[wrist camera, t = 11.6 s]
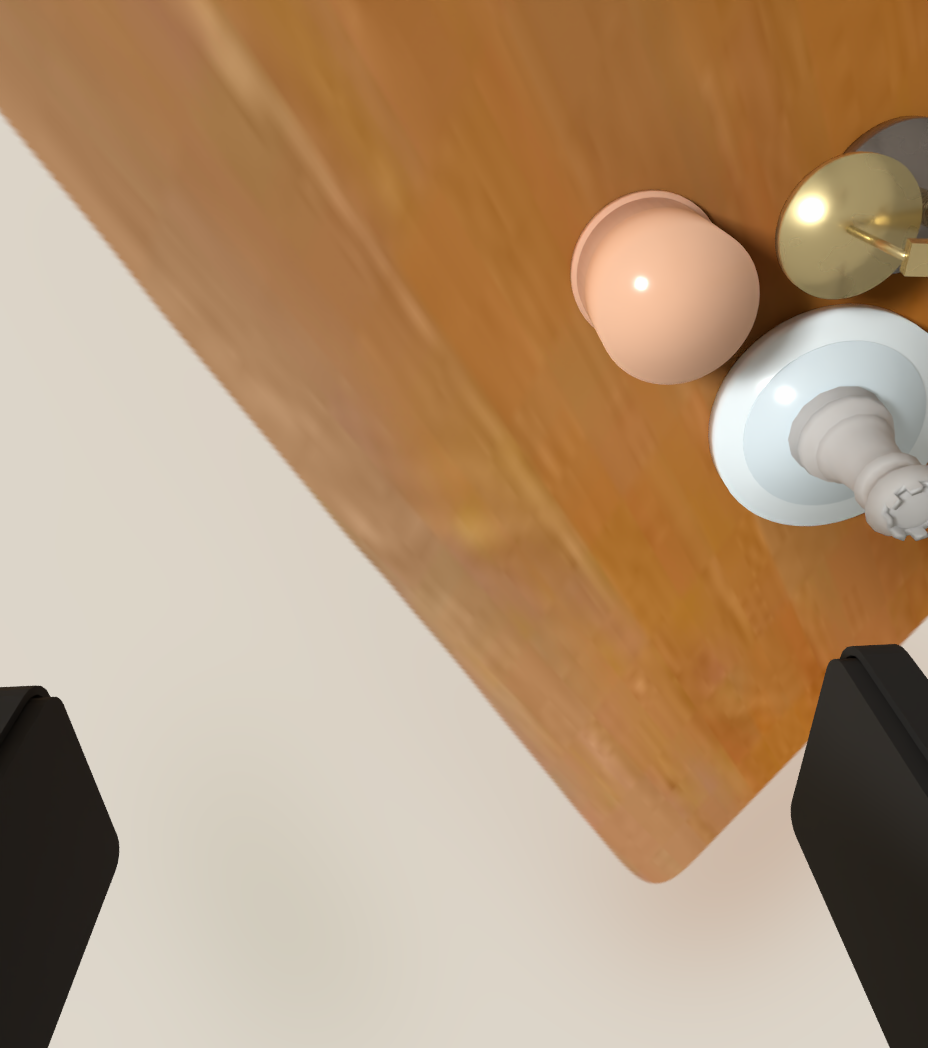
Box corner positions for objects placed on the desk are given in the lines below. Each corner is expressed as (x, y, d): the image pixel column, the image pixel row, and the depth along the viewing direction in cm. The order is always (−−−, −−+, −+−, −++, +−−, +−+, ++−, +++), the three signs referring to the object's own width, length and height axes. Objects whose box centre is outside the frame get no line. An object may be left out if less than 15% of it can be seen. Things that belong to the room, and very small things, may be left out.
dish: (723, 309, 36) (733, 318, 35) (968, 297, 36) (986, 306, 35) (696, 518, 42) (703, 532, 41) (906, 508, 42) (920, 522, 41)
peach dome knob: (572, 192, 33) (597, 222, 28) (726, 186, 33) (778, 214, 28) (567, 342, 37) (588, 392, 32) (707, 336, 37) (751, 385, 32)
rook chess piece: (901, 414, 38) (1004, 499, 31) (829, 484, 39) (910, 579, 33) (835, 363, 36) (928, 441, 29) (764, 438, 38) (835, 528, 31)
